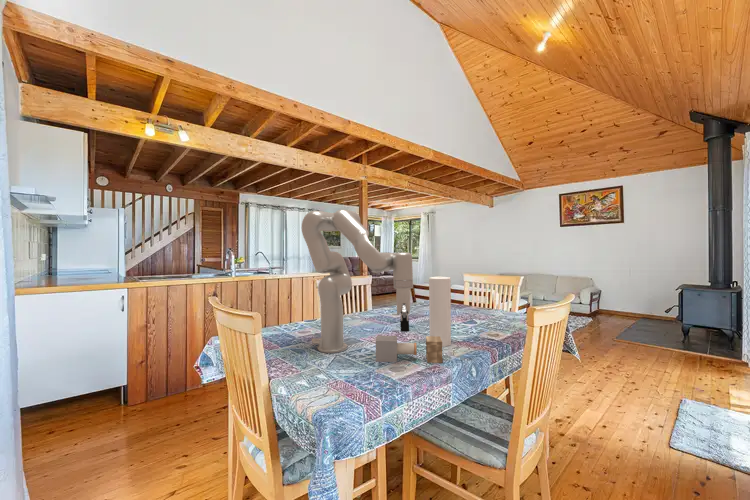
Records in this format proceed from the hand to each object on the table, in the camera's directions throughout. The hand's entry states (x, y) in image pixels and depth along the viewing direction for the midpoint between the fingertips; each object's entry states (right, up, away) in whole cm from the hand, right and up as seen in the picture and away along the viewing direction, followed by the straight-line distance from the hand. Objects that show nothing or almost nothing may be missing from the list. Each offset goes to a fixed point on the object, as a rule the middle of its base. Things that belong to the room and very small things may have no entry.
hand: (404, 328), depth 126 cm
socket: (+11, -12, -1) cm, 16 cm away
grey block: (-7, -12, +1) cm, 14 cm away
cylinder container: (+18, -12, +20) cm, 29 cm away
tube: (-3, -10, +1) cm, 11 cm away
